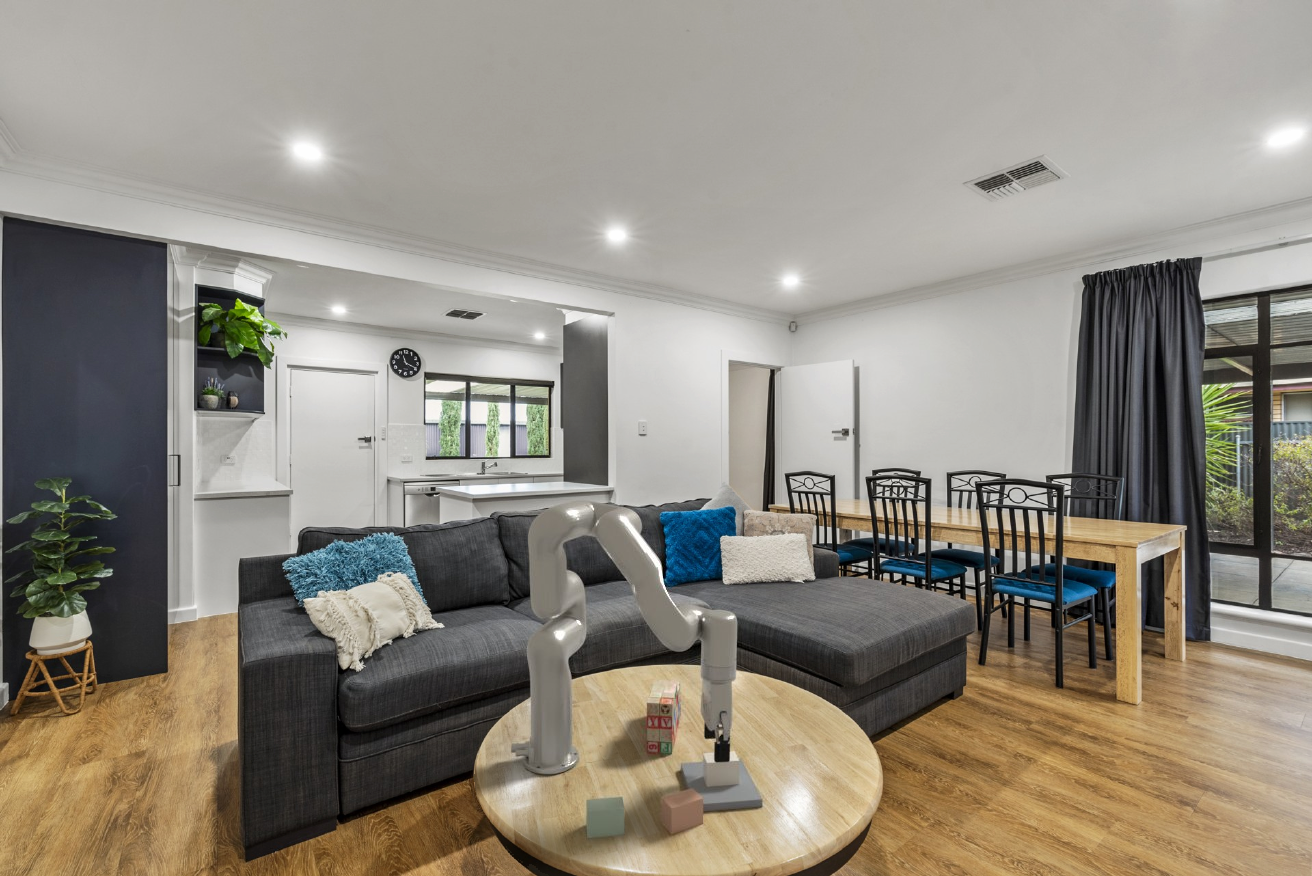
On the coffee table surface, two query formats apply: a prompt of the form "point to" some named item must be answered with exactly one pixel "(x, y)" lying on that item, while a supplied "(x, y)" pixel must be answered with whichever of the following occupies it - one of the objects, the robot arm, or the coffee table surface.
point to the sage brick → (605, 817)
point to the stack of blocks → (663, 716)
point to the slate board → (722, 789)
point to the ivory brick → (720, 770)
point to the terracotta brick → (682, 810)
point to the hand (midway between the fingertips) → (716, 749)
